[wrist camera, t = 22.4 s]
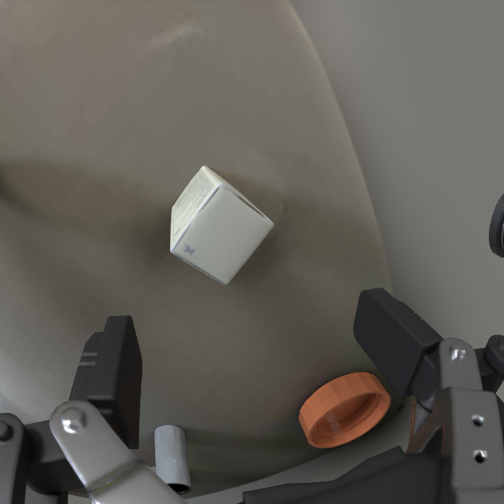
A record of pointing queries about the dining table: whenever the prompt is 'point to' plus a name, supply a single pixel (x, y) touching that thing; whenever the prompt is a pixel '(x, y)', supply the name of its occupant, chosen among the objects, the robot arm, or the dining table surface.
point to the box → (216, 226)
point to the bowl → (343, 409)
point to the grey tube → (172, 458)
